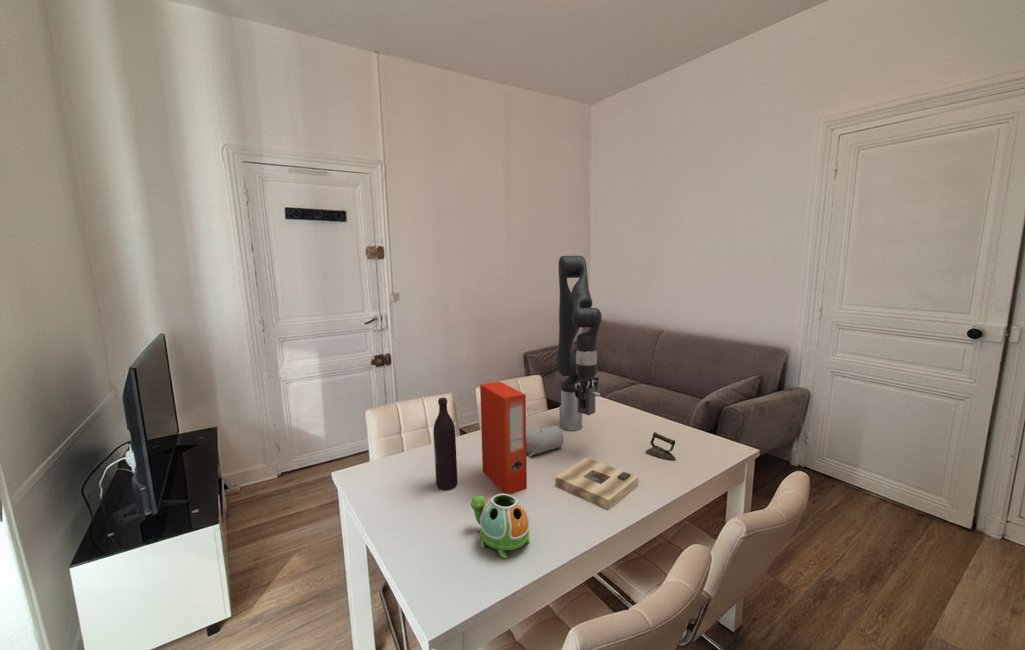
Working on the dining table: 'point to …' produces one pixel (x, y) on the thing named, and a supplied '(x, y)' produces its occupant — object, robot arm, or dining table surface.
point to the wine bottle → (445, 449)
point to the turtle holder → (501, 522)
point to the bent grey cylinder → (543, 440)
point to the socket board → (597, 482)
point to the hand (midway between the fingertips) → (586, 406)
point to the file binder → (504, 436)
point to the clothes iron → (659, 451)
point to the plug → (589, 401)
